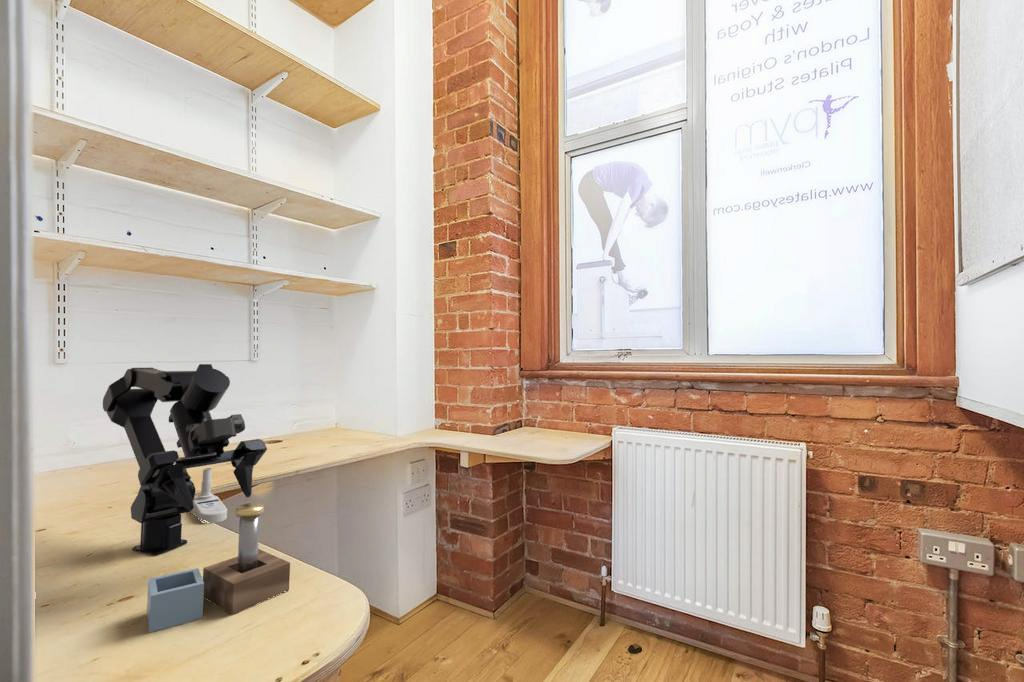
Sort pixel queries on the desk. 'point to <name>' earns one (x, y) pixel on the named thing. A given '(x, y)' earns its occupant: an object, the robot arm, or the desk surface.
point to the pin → (248, 535)
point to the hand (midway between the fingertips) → (221, 502)
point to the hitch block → (245, 582)
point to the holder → (174, 599)
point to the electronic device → (209, 502)
